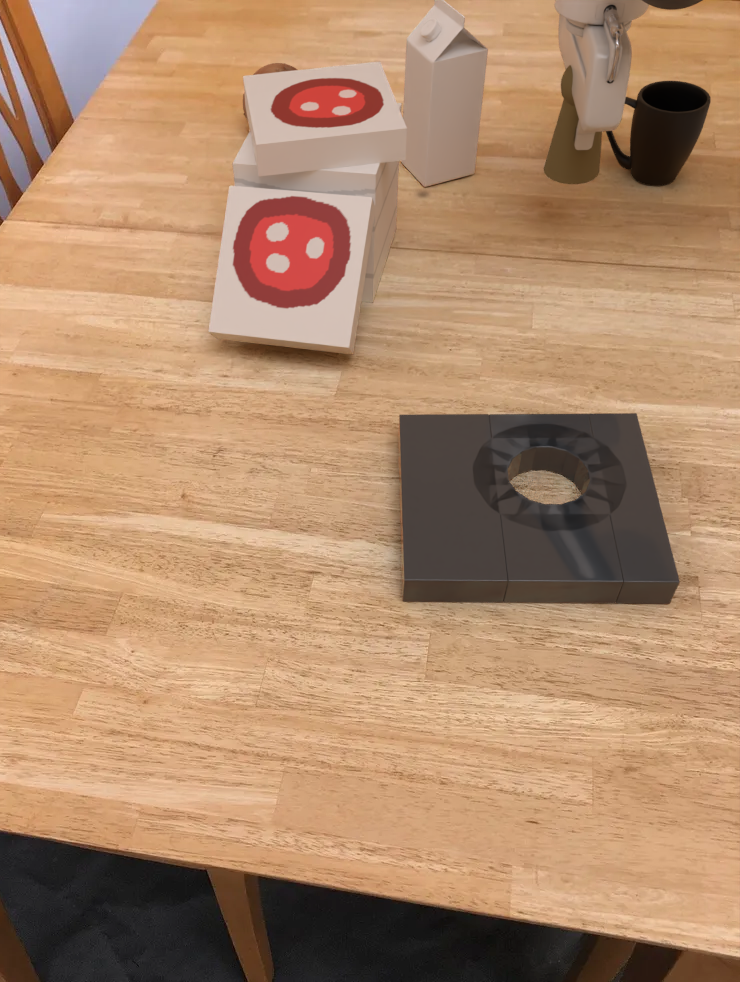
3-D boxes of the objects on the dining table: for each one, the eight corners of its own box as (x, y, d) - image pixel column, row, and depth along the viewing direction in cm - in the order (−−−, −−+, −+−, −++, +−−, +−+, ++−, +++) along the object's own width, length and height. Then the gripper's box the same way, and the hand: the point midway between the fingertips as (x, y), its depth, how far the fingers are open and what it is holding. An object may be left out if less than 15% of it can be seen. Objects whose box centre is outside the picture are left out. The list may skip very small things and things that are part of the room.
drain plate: (629, 436, 88) (636, 412, 86) (669, 604, 76) (680, 582, 74) (398, 437, 90) (399, 414, 88) (402, 602, 78) (404, 580, 76)
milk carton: (449, 150, 122) (463, -12, 107) (474, 175, 118) (492, 10, 103) (400, 162, 121) (407, 0, 106) (424, 188, 117) (435, 23, 102)
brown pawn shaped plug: (574, 190, 100) (594, 84, 91) (531, 170, 103) (547, 65, 94) (611, 169, 102) (633, 63, 93) (568, 150, 105) (586, 46, 96)
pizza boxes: (195, 359, 99) (169, 200, 84) (267, 208, 116) (255, 54, 101) (372, 380, 95) (375, 218, 81) (419, 221, 112) (428, 63, 98)
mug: (595, 149, 120) (612, 72, 113) (691, 162, 117) (715, 84, 109) (583, 182, 116) (599, 103, 108) (682, 196, 113) (706, 117, 105)
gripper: (658, 31, 82) (624, 182, 93) (621, -55, 94) (594, 87, 105) (585, 35, 82) (559, 184, 93) (557, -51, 94) (538, 90, 105)
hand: (578, 132), depth 99 cm, fingers closed on brown pawn shaped plug, 4 cm apart
